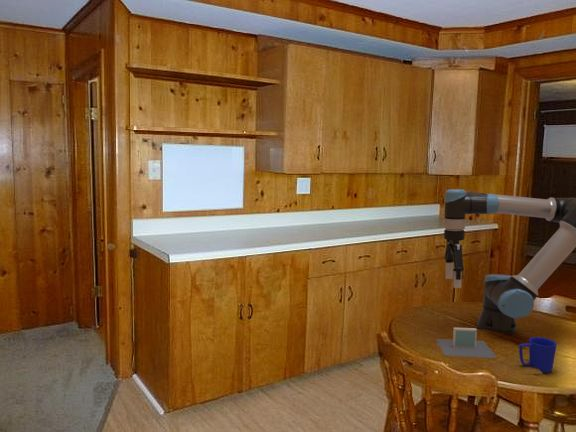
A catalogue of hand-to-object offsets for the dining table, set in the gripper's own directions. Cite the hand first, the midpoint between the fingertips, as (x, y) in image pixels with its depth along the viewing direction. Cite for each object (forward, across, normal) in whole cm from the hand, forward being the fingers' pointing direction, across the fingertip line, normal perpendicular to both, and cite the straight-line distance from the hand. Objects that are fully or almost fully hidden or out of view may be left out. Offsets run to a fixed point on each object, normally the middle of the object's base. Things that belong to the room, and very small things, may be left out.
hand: (453, 283), depth 189 cm
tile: (+21, +12, +2) cm, 24 cm away
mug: (+23, +26, +22) cm, 41 cm away
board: (+23, +13, +2) cm, 26 cm away
